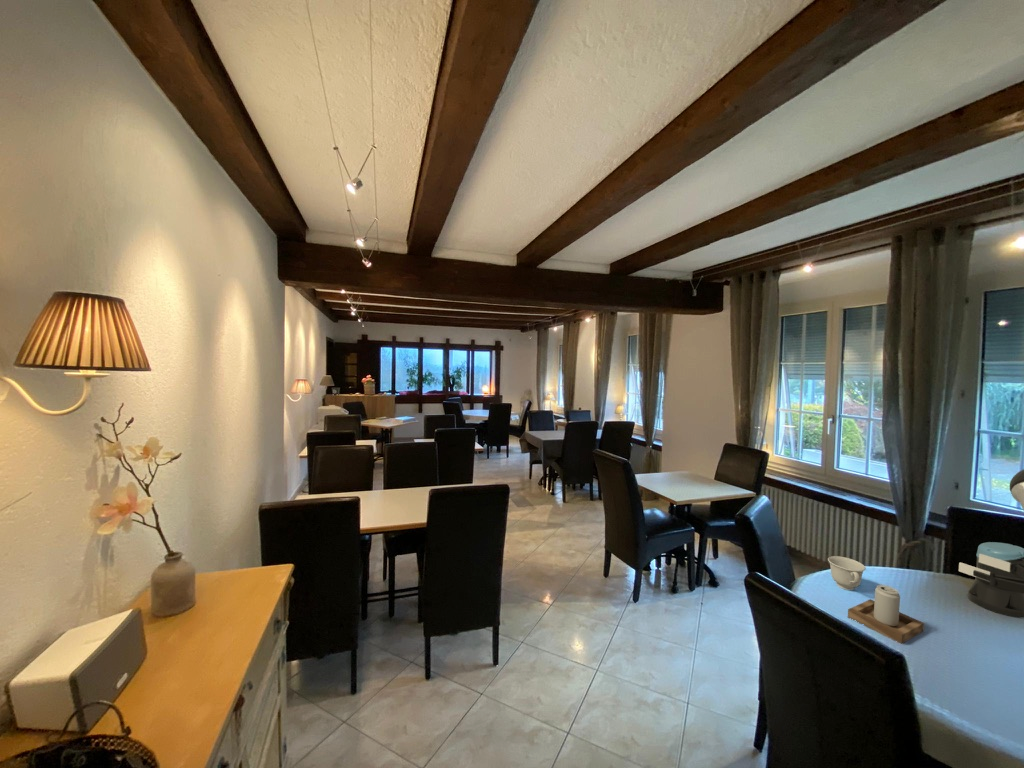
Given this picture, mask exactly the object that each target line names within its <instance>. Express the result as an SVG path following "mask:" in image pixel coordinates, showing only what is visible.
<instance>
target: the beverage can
mask: <svg viewBox="0 0 1024 768" xmlns="http://www.w3.org/2000/svg"><path fill="white" fill-rule="evenodd" d="M874 590H875V591H874V601H875V602H874V618H875V619H876V620H877V621H880V622H882V623H884V624H886V625H888V626H897V625H898V623H899V612H900V605H901V595H900V592H899V590H898V589H896V588H894V587H892V586H889V585H885V584H878V585H876V588H875V589H874Z"/></svg>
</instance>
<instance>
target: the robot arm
mask: <svg viewBox="0 0 1024 768" xmlns="http://www.w3.org/2000/svg"><path fill="white" fill-rule="evenodd" d="M1009 491H1010V495H1011V496H1012V498H1013V499H1014V500H1015V501H1016V502H1018V503H1020V506H1021V508H1022V509H1023V511H1024V468H1023V469H1022V470H1020V471H1018V472H1017V473H1016V474H1015V475H1013V477H1012V478H1011V480H1010V482H1009ZM958 572H960V573H963V574H966V575H968V576H972V577H975V579H974V581H973V582H972V583H971V585H970V586H969V588H968V589H967V598H968V600H969V601H971V602H972V603H973V604H976V605H977V606H980V607H981V608H983V607H984V608H983V609H986V610H988V611H992V612H994V613H996V614H1001V615H1004V616H1008V617H1013V618H1020V617H1024V548H1023V547H1021V546H1020V545H1019V546H1018V545H1013V544H1011V543H1005V542H995V541H994V542H993V541H992V542H991V541H988V542H983V543H980V544H979V545H978V547H977V551H976V567H975V566H972V565H969V564H967V563H963V562H959V563H958Z"/></svg>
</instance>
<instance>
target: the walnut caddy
mask: <svg viewBox="0 0 1024 768" xmlns="http://www.w3.org/2000/svg"><path fill="white" fill-rule="evenodd" d="M874 602H875V600H874V599H867V600H866V601H863V602H861V603H858V604H857V605H855V606H852V607H850V608H847V618H848V619H850V618H851V619H850V620H852V619H853V620H852V621H854V620H856V621H857V623H858V622H859V623H858V624H861V625H862V624H864V625H865V626H864V625H863V626H864V627H866V628H868V629H871V630H872V631H874V632H876V633H878V634H880V635H882V636H884V637H887V638H888V639H890V638H891V640H892V639H893V641H895V642H896V641H897V642H896V643H898V644H900V645H902V644H904V643H906V642H908V641H909V640H911V639H913V638H914V637H916V636H918V635H919V634H921V633H924V628H925V622H923V621H920V620H918V619H916V618H913V617H912V616H909V615H906V614H905V613H903V612H901V611H899V623H898V625H897V626H888V625H886V624H884V623H882V622H880V621H877V620H876V619H875V618H874ZM856 621H855V622H856Z"/></svg>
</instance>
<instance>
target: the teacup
mask: <svg viewBox="0 0 1024 768" xmlns="http://www.w3.org/2000/svg"><path fill="white" fill-rule="evenodd" d="M827 561H828V562H829V566H830V575H831V578H832V579H833V581H834V582H836V583H835V584H836V586H837V587H838V588H841V589H843V590H847V591H854V590H855V588H856V587H858V586H860V584H861V581H862V577H863V574H864V571H866V570H867V569H866V568H867V567H866V566H865V565H864V564H863V563H861V562H859V561H857V560H855V559H853V558H849V557H844V556H839V555H832V556H829V557H828V558H827Z"/></svg>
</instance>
